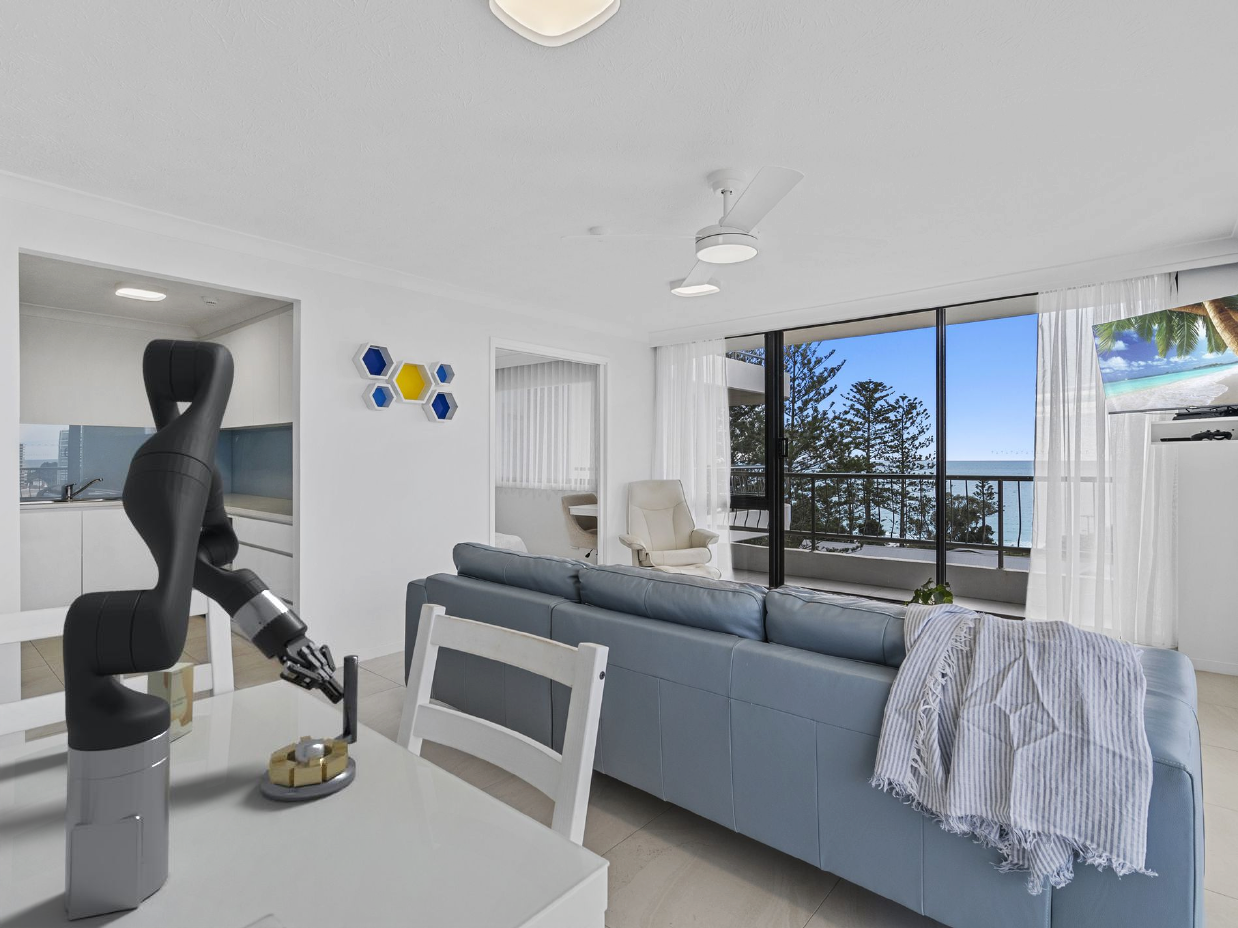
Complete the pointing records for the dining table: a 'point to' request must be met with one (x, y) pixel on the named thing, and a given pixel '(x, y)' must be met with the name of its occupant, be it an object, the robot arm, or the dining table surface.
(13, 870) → the dining table surface
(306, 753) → the flange
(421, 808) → the dining table surface
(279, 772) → the lever crank
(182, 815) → the dining table surface
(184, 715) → the skincare box
